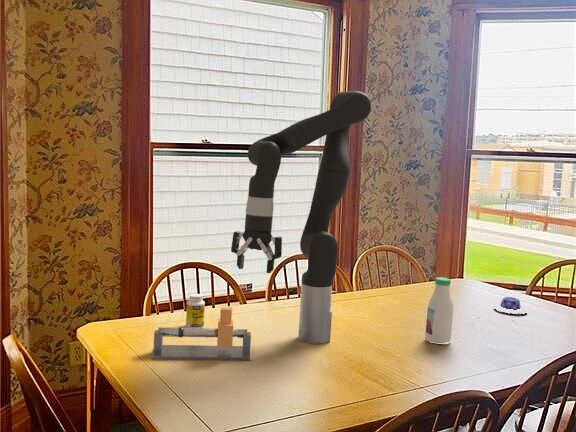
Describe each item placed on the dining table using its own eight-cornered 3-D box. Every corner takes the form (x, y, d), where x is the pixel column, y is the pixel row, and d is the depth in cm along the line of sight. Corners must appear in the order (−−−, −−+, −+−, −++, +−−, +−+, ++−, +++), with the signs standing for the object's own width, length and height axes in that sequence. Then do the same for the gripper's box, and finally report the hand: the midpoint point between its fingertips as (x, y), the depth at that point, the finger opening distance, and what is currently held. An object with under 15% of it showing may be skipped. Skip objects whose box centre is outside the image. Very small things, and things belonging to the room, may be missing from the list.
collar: (231, 340, 173) (233, 305, 171) (232, 347, 167) (233, 311, 165) (217, 339, 172) (218, 305, 171) (217, 347, 166) (218, 311, 165)
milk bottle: (452, 340, 193) (458, 278, 190) (447, 347, 186) (453, 282, 184) (427, 336, 196) (433, 274, 194) (422, 342, 189) (427, 279, 187)
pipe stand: (248, 349, 175) (250, 323, 174) (250, 360, 166) (251, 334, 165) (155, 347, 172) (156, 322, 171) (152, 359, 163) (153, 332, 162)
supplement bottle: (190, 330, 189) (191, 298, 187) (182, 325, 193) (184, 293, 192) (206, 328, 192) (208, 296, 190) (199, 323, 196) (200, 292, 195)
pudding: (489, 312, 230) (490, 298, 229) (498, 306, 240) (499, 293, 239) (522, 319, 223) (524, 305, 223) (530, 312, 233) (531, 298, 233)
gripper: (287, 215, 172) (282, 272, 174) (241, 209, 177) (236, 265, 178) (278, 217, 165) (273, 276, 167) (230, 211, 170) (225, 269, 171)
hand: (254, 270), depth 173 cm, fingers open, 8 cm apart
